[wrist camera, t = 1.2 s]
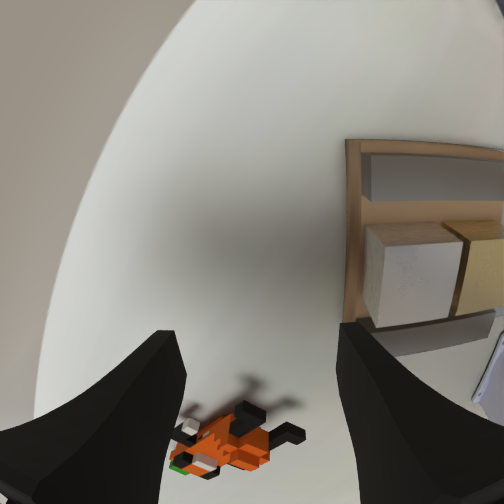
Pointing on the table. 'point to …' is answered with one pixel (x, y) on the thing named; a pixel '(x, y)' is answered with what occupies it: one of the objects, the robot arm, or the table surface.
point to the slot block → (417, 210)
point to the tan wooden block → (478, 265)
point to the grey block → (409, 272)
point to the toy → (229, 442)
